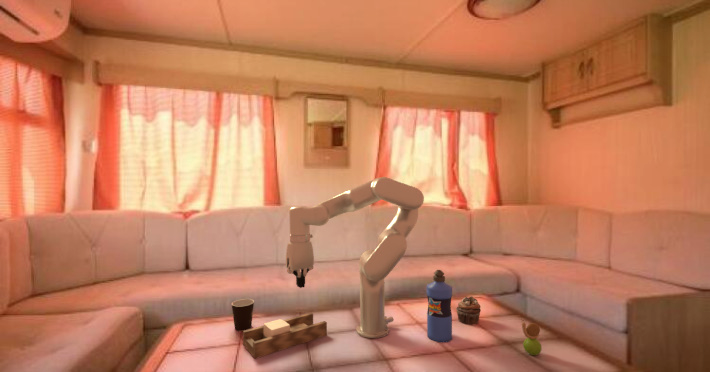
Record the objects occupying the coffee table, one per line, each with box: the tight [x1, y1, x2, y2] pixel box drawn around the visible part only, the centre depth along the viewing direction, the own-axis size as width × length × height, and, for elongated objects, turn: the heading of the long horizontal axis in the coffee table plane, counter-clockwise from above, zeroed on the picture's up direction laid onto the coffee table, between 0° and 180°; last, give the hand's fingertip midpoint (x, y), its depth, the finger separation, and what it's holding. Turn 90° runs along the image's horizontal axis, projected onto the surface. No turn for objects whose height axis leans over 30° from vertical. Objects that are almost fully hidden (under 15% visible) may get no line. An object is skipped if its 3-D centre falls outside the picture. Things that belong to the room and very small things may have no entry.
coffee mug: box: [231, 298, 255, 332], centre depth 136 cm, size 12×9×10 cm
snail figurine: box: [520, 318, 543, 356], centre depth 111 cm, size 5×6×12 cm
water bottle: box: [426, 269, 453, 343], centre depth 125 cm, size 9×9×25 cm
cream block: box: [263, 318, 290, 338], centre depth 120 cm, size 7×7×4 cm
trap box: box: [242, 312, 328, 359], centre depth 123 cm, size 28×12×5 cm, turn 127°
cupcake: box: [455, 296, 481, 326], centre depth 139 cm, size 10×10×10 cm
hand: (300, 286), depth 127 cm, fingers closed
